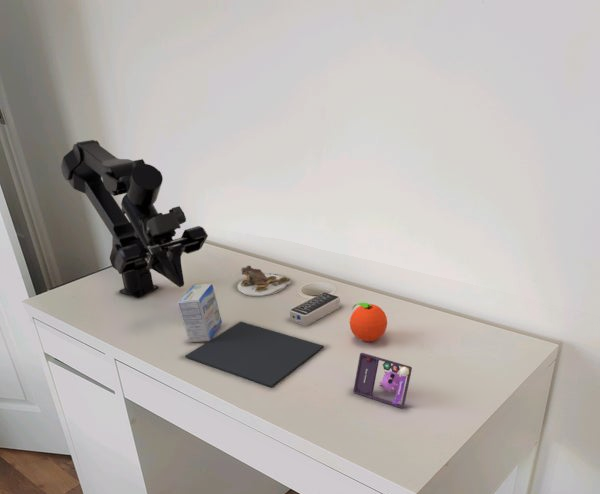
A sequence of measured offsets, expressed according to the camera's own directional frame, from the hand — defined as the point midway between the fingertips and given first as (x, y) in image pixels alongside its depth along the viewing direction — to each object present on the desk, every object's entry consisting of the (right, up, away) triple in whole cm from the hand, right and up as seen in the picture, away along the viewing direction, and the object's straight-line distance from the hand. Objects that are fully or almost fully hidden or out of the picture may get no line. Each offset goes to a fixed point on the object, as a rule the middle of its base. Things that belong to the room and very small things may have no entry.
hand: (182, 285), depth 121 cm
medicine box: (+5, -9, 0) cm, 11 cm away
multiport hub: (+26, -5, +5) cm, 27 cm away
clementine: (+36, -11, -5) cm, 38 cm away
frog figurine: (+15, +3, +19) cm, 24 cm away
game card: (+37, -21, -21) cm, 48 cm away
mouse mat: (+15, -14, -8) cm, 21 cm away
